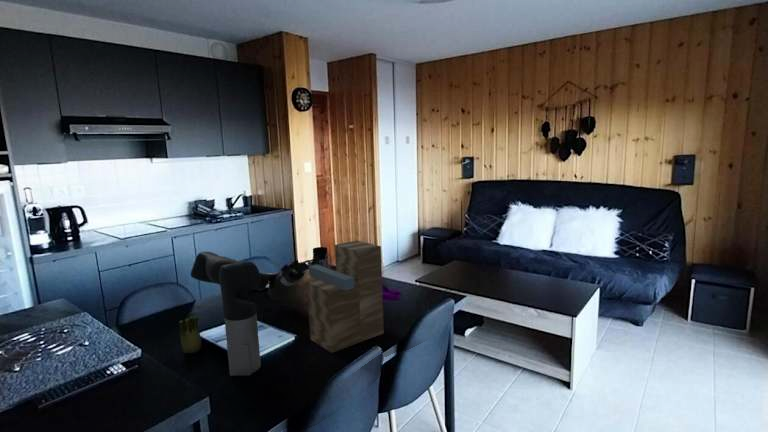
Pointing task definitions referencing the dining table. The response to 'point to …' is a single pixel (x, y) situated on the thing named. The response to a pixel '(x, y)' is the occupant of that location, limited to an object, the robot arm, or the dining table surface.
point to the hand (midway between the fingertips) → (308, 260)
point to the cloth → (389, 294)
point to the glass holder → (322, 256)
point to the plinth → (348, 299)
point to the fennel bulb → (190, 335)
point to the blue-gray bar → (331, 277)
